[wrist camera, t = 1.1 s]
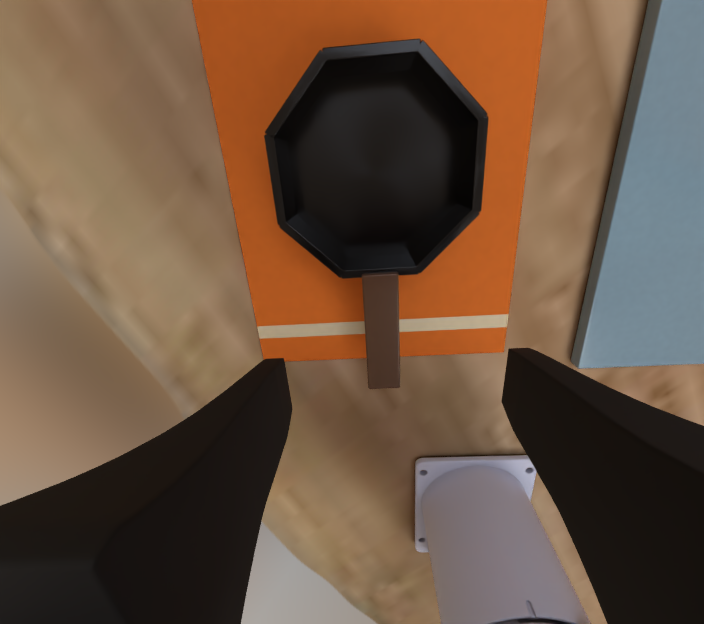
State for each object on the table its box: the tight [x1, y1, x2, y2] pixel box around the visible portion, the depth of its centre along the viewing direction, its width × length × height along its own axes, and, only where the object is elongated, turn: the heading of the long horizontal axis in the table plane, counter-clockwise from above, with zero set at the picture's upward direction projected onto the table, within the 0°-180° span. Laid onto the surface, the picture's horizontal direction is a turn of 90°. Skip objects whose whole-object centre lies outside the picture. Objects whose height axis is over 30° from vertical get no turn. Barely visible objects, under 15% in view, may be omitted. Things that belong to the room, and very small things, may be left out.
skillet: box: [264, 38, 489, 389], centre depth 16 cm, size 14×8×3 cm, turn 4°
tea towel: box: [192, 0, 547, 361], centre depth 16 cm, size 20×14×1 cm
